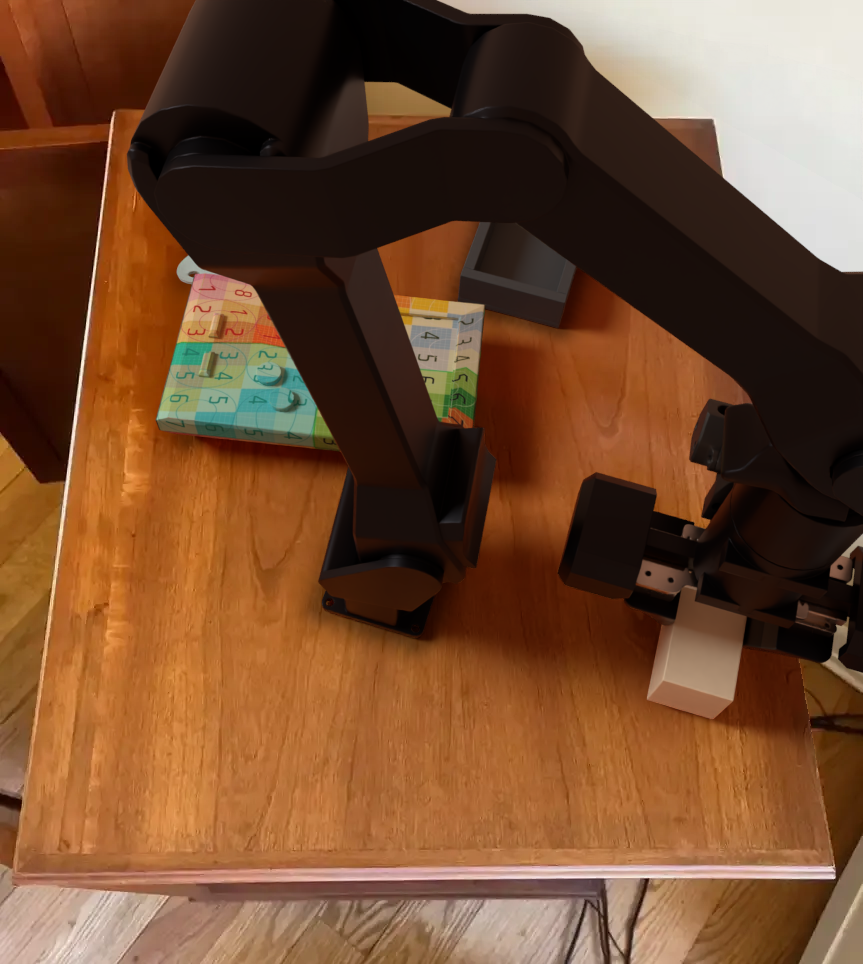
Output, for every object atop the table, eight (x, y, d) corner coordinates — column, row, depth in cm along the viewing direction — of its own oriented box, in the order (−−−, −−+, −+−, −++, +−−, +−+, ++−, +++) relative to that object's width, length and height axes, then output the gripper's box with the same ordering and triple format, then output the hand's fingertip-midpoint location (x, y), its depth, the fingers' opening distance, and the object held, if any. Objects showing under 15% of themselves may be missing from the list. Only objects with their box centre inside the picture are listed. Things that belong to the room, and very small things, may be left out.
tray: (558, 328, 73) (565, 302, 70) (457, 301, 74) (460, 275, 71) (599, 194, 79) (606, 165, 77) (505, 170, 80) (509, 141, 77)
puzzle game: (191, 265, 69) (486, 296, 68) (203, 308, 73) (480, 337, 72) (152, 412, 63) (472, 446, 63) (166, 449, 67) (467, 481, 67)
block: (734, 701, 56) (759, 543, 60) (662, 680, 56) (693, 524, 61) (713, 720, 59) (738, 569, 64) (646, 700, 60) (676, 551, 64)
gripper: (1000, 425, 50) (866, 553, 64) (629, 327, 52) (577, 472, 65) (992, 632, 45) (848, 722, 59) (581, 514, 47) (536, 629, 60)
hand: (699, 627), depth 61 cm, fingers closed on block, 4 cm apart
